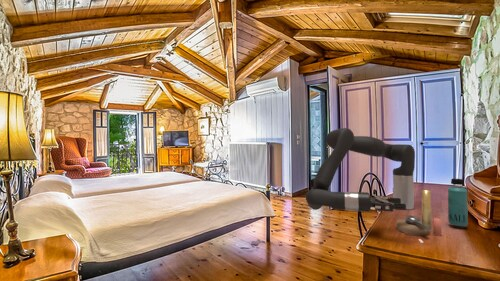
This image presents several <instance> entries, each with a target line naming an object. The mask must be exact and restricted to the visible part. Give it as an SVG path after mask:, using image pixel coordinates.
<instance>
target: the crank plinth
mask: <svg viewBox="0 0 500 281" xmlns="http://www.w3.org/2000/svg"><path fill="white" fill-rule="evenodd" d="M396 230H397V231H399V232H401V233H403V234H407V235H409V236H414V237H415V236H416V237H417V236H419V237H424V236H429V235H430V234H431V233H430V230H426V229H424V228H422V227H420V226H418V225H415V224H409V223H406V222H405V218H400V219H397V221H396Z"/></svg>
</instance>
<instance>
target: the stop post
mask: <svg viewBox="0 0 500 281" xmlns="http://www.w3.org/2000/svg"><path fill="white" fill-rule="evenodd" d="M433 235H434V236H436V237H441V236H442V219H441V218H438V217H434V218H433Z"/></svg>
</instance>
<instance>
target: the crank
mask: <svg viewBox="0 0 500 281" xmlns="http://www.w3.org/2000/svg"><path fill="white" fill-rule="evenodd" d="M404 219H405V222H406V223H409V224H415V225H418V226H420V227H422V228H424V229H426V230H432V191H431V190H430V189H421V218H420V216H415V215H406V216H405V218H404Z"/></svg>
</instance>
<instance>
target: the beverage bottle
mask: <svg viewBox="0 0 500 281" xmlns="http://www.w3.org/2000/svg"><path fill="white" fill-rule="evenodd" d="M450 180H451V181H450V184H451V186H450V187H448V188H447V192H448V193H447V204H448V205H447V207H448V209H447V215H448V216H447V220H448V221H447V222H448V223H449V224H451V225H452V226H453V225H454V226H456V227H467V226H468V224H469V217H468V216H469V215H468V213H469V212H468V211H469V209H468V189H466V188H465V187H463V186H464V185H465V182H464V179H462V178H451V179H450ZM455 185H457V186H455ZM462 185H463V186H462Z"/></svg>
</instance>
